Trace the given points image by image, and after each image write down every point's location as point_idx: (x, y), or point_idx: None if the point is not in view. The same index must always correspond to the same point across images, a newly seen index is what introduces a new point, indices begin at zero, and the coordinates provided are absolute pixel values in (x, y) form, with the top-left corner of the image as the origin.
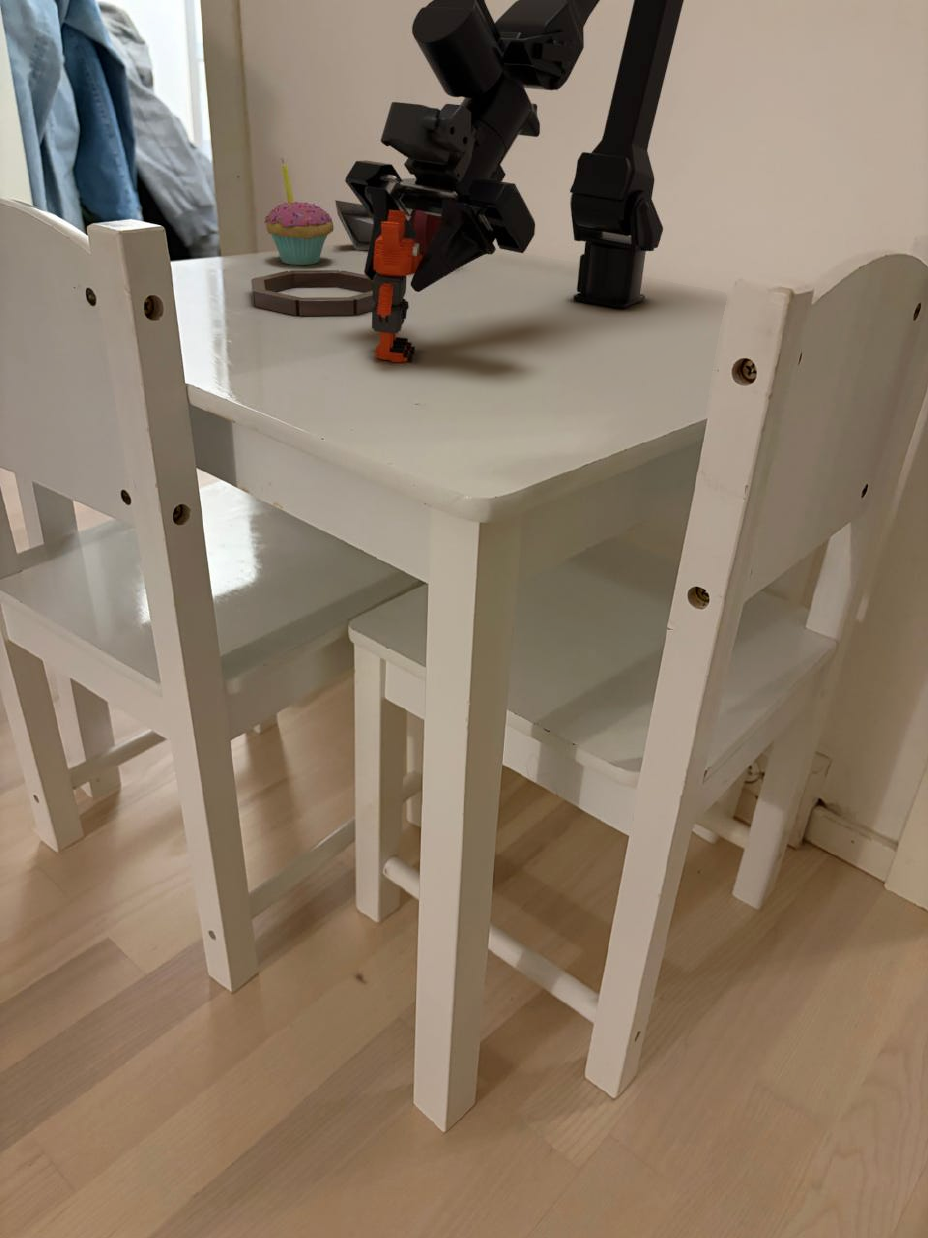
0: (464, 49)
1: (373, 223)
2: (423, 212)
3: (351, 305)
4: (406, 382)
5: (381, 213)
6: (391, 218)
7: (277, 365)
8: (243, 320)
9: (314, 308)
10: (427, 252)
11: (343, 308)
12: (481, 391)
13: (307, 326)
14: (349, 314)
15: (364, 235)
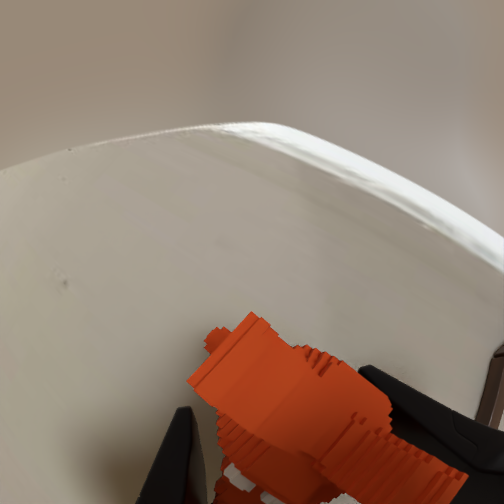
0: None
1: (488, 426)
2: None
3: None
4: (139, 333)
5: (498, 454)
6: (414, 465)
7: (311, 221)
8: (492, 285)
9: (493, 377)
10: (176, 484)
11: (482, 418)
12: (55, 391)
13: (457, 350)
14: None
15: None
